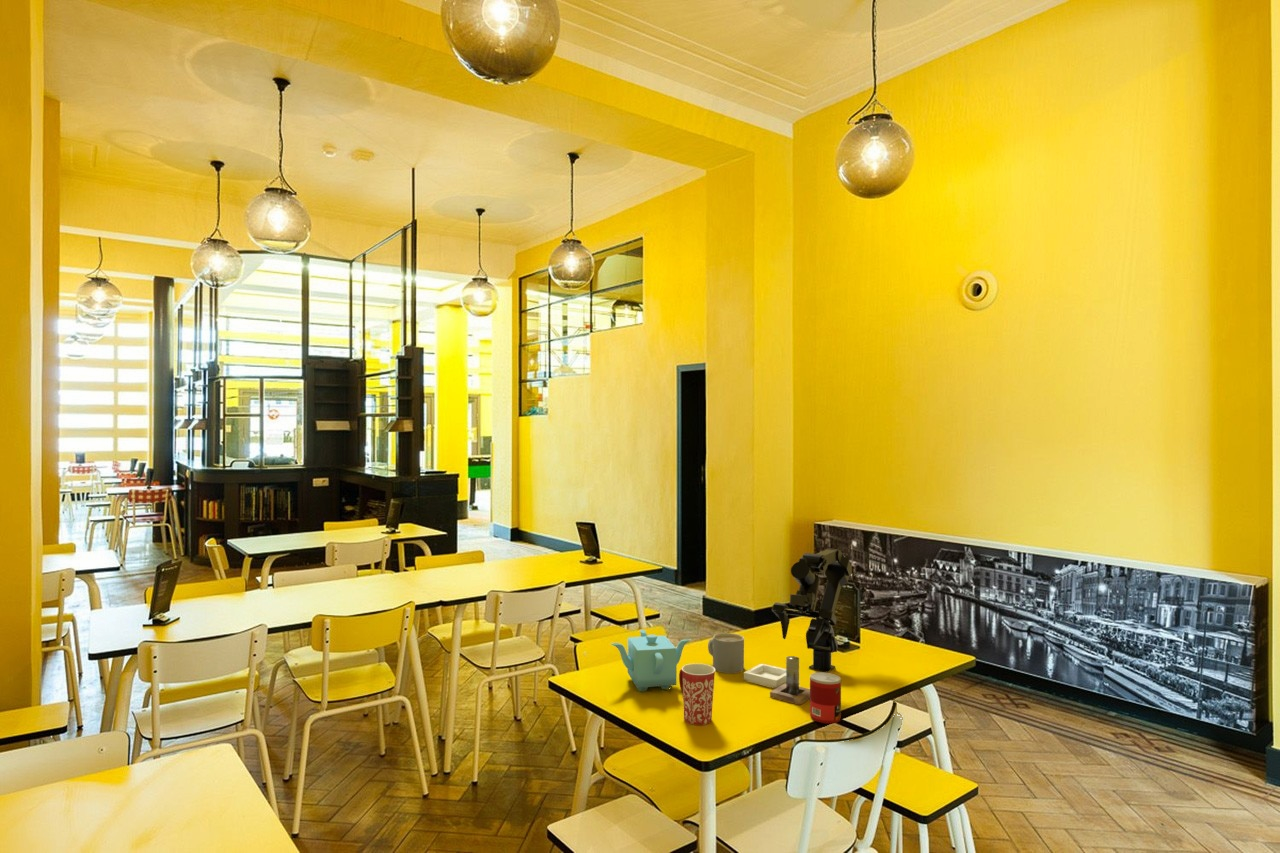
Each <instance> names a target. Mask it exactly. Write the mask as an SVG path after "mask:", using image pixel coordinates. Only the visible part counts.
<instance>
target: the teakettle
mask: <svg viewBox="0 0 1280 853" xmlns="http://www.w3.org/2000/svg"><path fill="white" fill-rule="evenodd" d="M639 631H640V636H633V637H632V636H631V637H627V650H626V648H625V646H624V645H623V644H622V643H619V642H612V643H610V645H612V646H614V647H615V648H617V649H618V652H619V654H620V656H621V658H620V659H621V661H622V663H623V665H624V666H625V668H627V673H628V676H629V677H630V679H631V681H632V683H634V686H635V687H636V688H637V691H638V692H646V690H647V691H648V688H654V687H655V688H656V687H657V688H658V687H660V689H661V688H662V689H661V690H663V689H669V688H670V687H671V686H677V679H678V678H677V670H678V669H677V668H678V667H677V665H678V664H679V663H680V660H681V657H682V654H683V650H684V647H685V646H686V644H687V643H689V642H691V641H692V639H691V638H685V639H681V640H680V641H679V642H678V644H677V645H676V646H675V645H674V644H673V643H672V641H670V639H669V638H668V637H667V636H666V635H656V634H648V635H647V631H646V630H645V629H640V630H639ZM669 690H670V689H669Z"/></svg>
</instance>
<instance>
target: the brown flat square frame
mask: <svg viewBox="0 0 1280 853" xmlns="http://www.w3.org/2000/svg"><path fill="white" fill-rule="evenodd" d="M769 697H770V698H773V699H776V700H779V699H780V701H784V702H786V703H787V702H788V703H790V704H795V705H798V706H801V705H803V704H804V703H805V702H807V701H810V688H807V687H802V686H799V695H798V696H795V695H791V694H787V693H786V683H785V684H783V685H781V686H779V687H778V688H776V689H775V688H773V690H771V691H770V692H769Z"/></svg>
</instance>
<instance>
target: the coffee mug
mask: <svg viewBox="0 0 1280 853" xmlns="http://www.w3.org/2000/svg"><path fill="white" fill-rule="evenodd" d="M707 650H708V654H709V655H710V656H712V667H714V668H715V669H716V670H717V671H716V672H718V671H719V672H718V673H722V672H723V674H738V673H741V671H742V672H743V671H744V668H745V660H744V659H745V637H744V636H743V635H740V634H738V633H731V632H720V633H716V634H714V635H713V636H712V638H709V640H708V643H707Z"/></svg>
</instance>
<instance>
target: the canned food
mask: <svg viewBox="0 0 1280 853" xmlns="http://www.w3.org/2000/svg"><path fill="white" fill-rule="evenodd" d="M809 689H810V699H809V715H810V718H811V720H813V721H815V722H818V723H820V724H826V725H827V724H829V723H830V724H837V723H839V722H840V720H841V718H842V717H841V716H842V678H841V677H840V676H839V675H837V674H834V673H830V672H823V671H819V672H813V673H812V674H810V675H809ZM830 724H829V725H830Z"/></svg>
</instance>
